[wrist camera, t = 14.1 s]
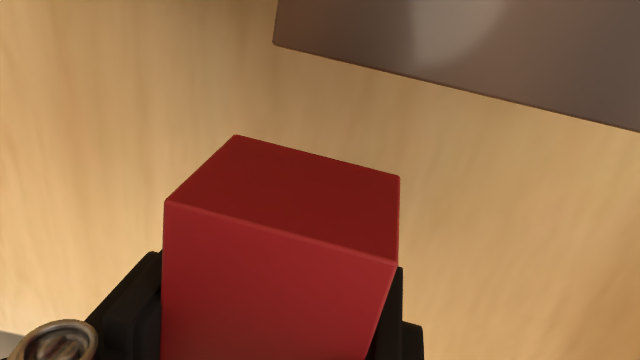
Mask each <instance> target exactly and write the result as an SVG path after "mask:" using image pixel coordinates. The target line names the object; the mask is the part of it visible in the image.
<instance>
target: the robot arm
mask: <svg viewBox="0 0 640 360" xmlns="http://www.w3.org/2000/svg"><path fill="white" fill-rule="evenodd" d="M161 280H162V250H161V251H160V252H159V253H157V252H154V251H151V252H148V253H147V254H146V255H145V256H144V257H143V258H142V259H141V260H140V261H139V262H138V263H137V265H136V266H135V267H134V268H133V269H132V270H131V271H130V272H129V273H128V274H127V275H126V276H125V278H124V279H123V280H122V281H121V282H120V283H119V284H118V285H117V286H116V287H115V288H114V289H113V290H112V292H111V293H110V294H109V295H108V296H107V297H106V298H105V299H104V300H103V301H102V302H101V303H100V305H99V306H98V307H97V308H96V309H95V310H94V311H93V312H92V313H91V314H90V315H89V316H88V318H87V319H86V320H85V321H84V322H83V321H80V320H76V319H63V320H58V321H53V322H49V323H47V324H44V325H42V326H39V327H38V328H36V329H34V330H33V331H31V332H30V333H28V334H27V335H26V336H25V337H24V338H23V339H22V340H21V341H20V342H19V344H18V345H17V346H16V348H15V349H14V350H13V351H12V353H11V354H10V355H9V357H8V358H4V359H1V360H160V334H161ZM402 300H403V268H402V267H398V266H397V269H396V272H395V275H394V278H393V281H392V284H391V286H390V289H389V292H388V295H387V298H386V301H385V304H384V306H383V309H382V312H381V315H380V318H379V321H378V324H377V326H376V329H375V332H374V335H373V338H372V341H371V344H370V347H369V349H368V352H367V355H366V358H365V360H424V344H423V330H422V327H421V326H419V325H415V324H412V323H408V322H405V321H402Z"/></svg>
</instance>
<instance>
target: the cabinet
mask: <svg viewBox="0 0 640 360" xmlns="http://www.w3.org/2000/svg"><path fill="white" fill-rule="evenodd" d="M272 42H273V45H275V46H278V47H282V48H286V49H291V50H295V51H299V52H303V53H307V54H312V55H316V56H320V57H324V58H328V59H332V60H337V61H341V62H345V63H349V64H353V65H358V66H362V67H366V68H370V69H374V70H378V71H383V72H387V73H391V74H395V75H399V76H404V77H408V78H412V79H416V80H420V81H424V82H429V83H433V84H437V85H441V86H445V87H450V88H454V89H458V90H462V91H466V92H470V93H475V94H479V95H483V96H487V97H491V98H496V99H500V100H504V101H508V102H512V103H517V104H521V105H525V106H529V107H533V108H537V109H542V110H546V111H550V112H554V113H558V114H563V115H567V116H571V117H575V118H579V119H583V120H588V121H592V122H596V123H600V124H604V125H609V126H613V127H617V128H621V129H625V130H629V131H634V132H638V133H640V0H278V5H277V12H276V19H275V26H274V33H273V40H272Z"/></svg>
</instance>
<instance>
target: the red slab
mask: <svg viewBox="0 0 640 360" xmlns="http://www.w3.org/2000/svg"><path fill="white" fill-rule="evenodd" d="M399 209H400V177H399V176H398V175H394V174H390V173H386V172H382V171H378V170H374V169H371V168H367V167H363V166H359V165H355V164H351V163H347V162H343V161H339V160H335V159H331V158H327V157H323V156H319V155H315V154H312V153H308V152H304V151H300V150H296V149H292V148H288V147H284V146H280V145H276V144H272V143H268V142H264V141H260V140H256V139H253V138H249V137H245V136H241V135H233V136H232V137H231V138H230V139H229V140H228V141H227V142H226V143H225V144H224V145H223V146H222V147H221V148H220V149H219V150H218V151H216V152H215V153H214V154H213V155H212V156H211V157H210V158H209V159H208V160H207V161H206V162H205V163H204V164H203V165H202V166H200V167H199V168H198V169H197V170H196V171H195V172H194V173H193V174H192V175H191V176H190V177H189V178H188V179H187V180H186V181H185V182H183V183H182V184H181V185H180V186H179V187H178V188H177V189H176V190H175V191H174V192H173V193H172V194H171V195H170V196H169V197H168V198H166V200H165V201H164V218H163V249H162V280H161V334H160V360H365V358H366V355H367V352H368V349H369V347H370V344H371V341H372V338H373V335H374V332H375V329H376V326H377V324H378V321H379V318H380V315H381V312H382V309H383V306H384V304H385V301H386V298H387V295H388V292H389V289H390V286H391V284H392V281H393V278H394V275H395V272H396V269H397V266H398V248H399Z"/></svg>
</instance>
